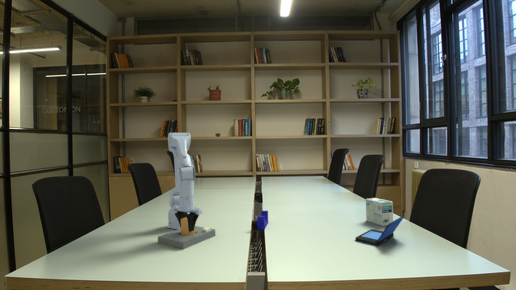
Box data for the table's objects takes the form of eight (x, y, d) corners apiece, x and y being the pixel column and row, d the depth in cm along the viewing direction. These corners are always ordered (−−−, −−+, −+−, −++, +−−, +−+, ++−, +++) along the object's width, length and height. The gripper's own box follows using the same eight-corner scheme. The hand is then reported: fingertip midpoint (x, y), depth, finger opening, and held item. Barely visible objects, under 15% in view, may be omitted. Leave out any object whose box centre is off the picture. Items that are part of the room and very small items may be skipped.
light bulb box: (393, 224, 133) (393, 201, 133) (382, 226, 131) (382, 202, 131) (376, 219, 143) (376, 197, 143) (365, 220, 140) (365, 198, 140)
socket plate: (157, 242, 114) (157, 234, 114) (190, 230, 129) (190, 222, 129) (183, 249, 106) (183, 239, 106) (215, 235, 122) (215, 227, 122)
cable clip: (259, 222, 141) (258, 210, 141) (268, 223, 140) (267, 210, 140) (254, 230, 129) (253, 216, 129) (264, 230, 128) (263, 216, 128)
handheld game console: (371, 232, 123) (371, 210, 123) (404, 239, 114) (404, 215, 114) (354, 241, 112) (353, 217, 112) (389, 250, 103) (389, 223, 103)
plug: (180, 236, 117) (180, 218, 117) (188, 233, 121) (187, 216, 121) (188, 237, 115) (187, 220, 115) (195, 235, 119) (195, 217, 119)
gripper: (166, 196, 118) (167, 230, 118) (192, 199, 111) (193, 235, 111) (179, 194, 124) (180, 225, 124) (205, 196, 117) (206, 230, 117)
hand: (187, 230), depth 118 cm, fingers closed on plug, 4 cm apart
